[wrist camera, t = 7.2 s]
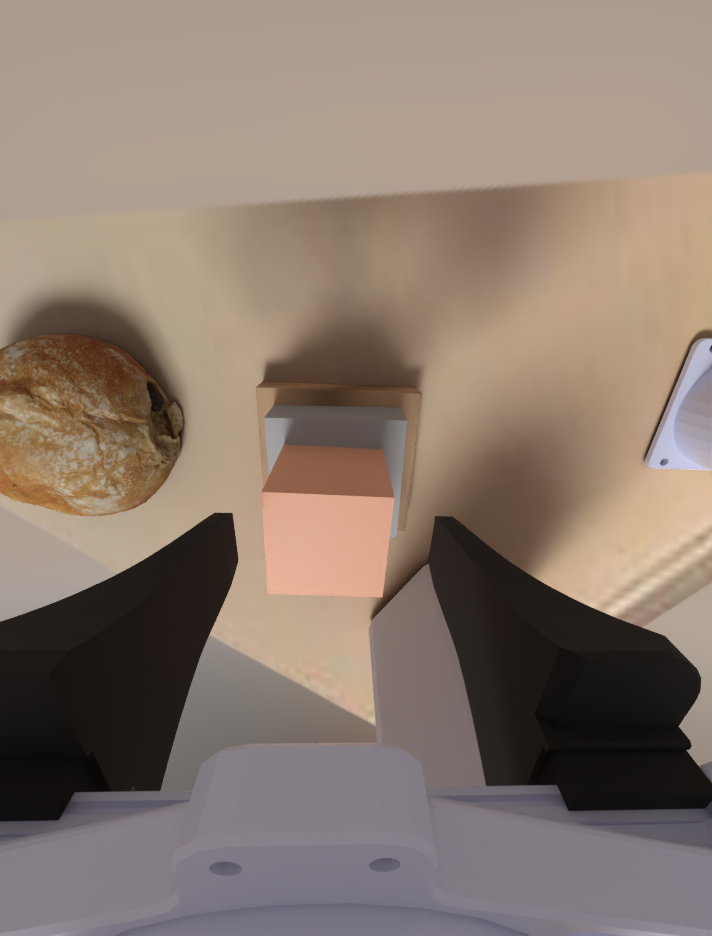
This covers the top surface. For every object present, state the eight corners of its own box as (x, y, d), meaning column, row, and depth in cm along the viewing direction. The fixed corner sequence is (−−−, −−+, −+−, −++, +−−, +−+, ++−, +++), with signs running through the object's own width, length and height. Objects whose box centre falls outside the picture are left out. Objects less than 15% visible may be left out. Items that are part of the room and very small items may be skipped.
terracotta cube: (374, 531, 20) (382, 597, 15) (286, 527, 20) (267, 593, 15) (382, 449, 18) (394, 497, 13) (284, 444, 18) (261, 491, 13)
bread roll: (212, 452, 26) (220, 478, 19) (69, 528, 23) (17, 592, 16) (126, 319, 22) (96, 290, 15) (-57, 392, 19) (-197, 398, 12)
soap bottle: (432, 549, 26) (1145, 2512, 3) (517, 599, 28) (1292, 1902, 5) (361, 623, 29) (427, 1885, 6) (444, 663, 31) (728, 1678, 8)
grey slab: (400, 407, 20) (407, 420, 17) (391, 514, 22) (396, 537, 20) (273, 404, 19) (263, 417, 17) (281, 513, 22) (273, 536, 20)
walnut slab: (413, 384, 21) (421, 393, 19) (399, 510, 25) (404, 530, 23) (265, 378, 21) (256, 387, 19) (273, 507, 25) (266, 527, 23)
